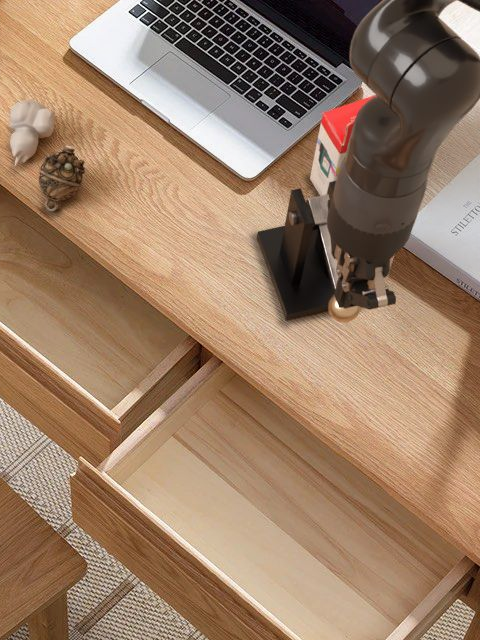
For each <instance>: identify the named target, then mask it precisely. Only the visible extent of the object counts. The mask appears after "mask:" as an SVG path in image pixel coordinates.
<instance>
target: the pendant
mask: <svg viewBox="0 0 480 640" xmlns="http://www.w3.org/2000/svg"><path fill="white" fill-rule="evenodd" d="M75 154H76V152H75V148H74V147H73V146H71V145H65V146H64V148H63V149H62V151H58V149H55V150H51V151H50V154H49V156H48V155H45V156H44V157H43V158H44V161H43V162H42V164H41V165H40V168H39V169H38V171H39V172H38V173H39V174H38V175H39V176H38V184H39V188H40V189H41V191H42V193H43V194H44V195H45V196H46V198H47V199H46V201H44V207H45V209H46V210H47V211H48V212H51V213H53V212H56V211H57V210H58V207H59V203H58V202H61V201H64V200H68V199H70V198H73V197H74V196H75V195H76V194H77V192H78V189H79V187H81V185H82V183H83V178H84V177H83V175H84V174H85V173H86V168H85V163H86V161H85V160H84V159H79V157H78V156H76V155H75ZM50 202H52V203H53V204H54V207H53V208H50V206H49V204H50Z"/></svg>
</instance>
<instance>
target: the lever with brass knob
mask: <svg viewBox="0 0 480 640" xmlns="http://www.w3.org/2000/svg"><path fill="white" fill-rule="evenodd" d="M328 200H330V197H329V194H327V195H322V196H320V195H318V196H313V197H308V198H307V200H305V201H306V204H307V206H308V209H309V212H310V214H311V217H312V219H313V222H314V225H313V229H312V230H317V231H318V235H319V239H320V242H321V246H322V250H323V254H324V258H325V261H326V265H327V269H328V273H329V277H330V280H331V284H332V288H333V292H335V289H336V285H337V281H338V275H337V273H336V267H337V259H334V258H333V256H332V254H331V251H332V250H331V238H330V234H329V231H328V227H327V216H328V206H327V204H328ZM360 312H361V307H360V306H354V307H350V308H345V309H344V307H342V308H340V307H339V306H338V304H337V301H336V298H335V296H334V295H333V296H332V297H331V298H330V300H329V303H328V314H329V315H330V317H331V318H332V320H334V321H335V322H338V323H344V324H345V323H350V322H353V321H354V320H355V319H356V318H357V317H358V316H359V314H360Z"/></svg>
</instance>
